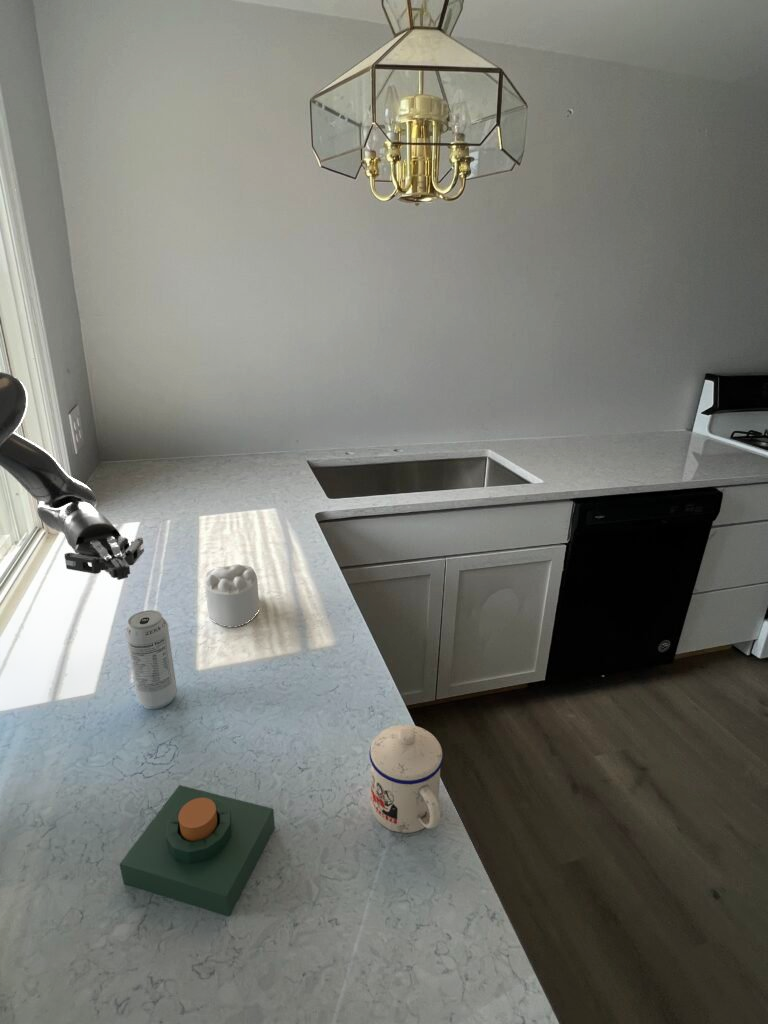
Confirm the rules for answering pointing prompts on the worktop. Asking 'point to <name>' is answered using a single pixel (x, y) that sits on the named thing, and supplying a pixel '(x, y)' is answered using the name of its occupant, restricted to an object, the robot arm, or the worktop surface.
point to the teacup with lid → (405, 778)
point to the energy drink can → (151, 659)
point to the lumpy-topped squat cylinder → (231, 594)
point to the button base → (200, 853)
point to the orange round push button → (198, 819)
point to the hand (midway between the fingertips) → (123, 573)
